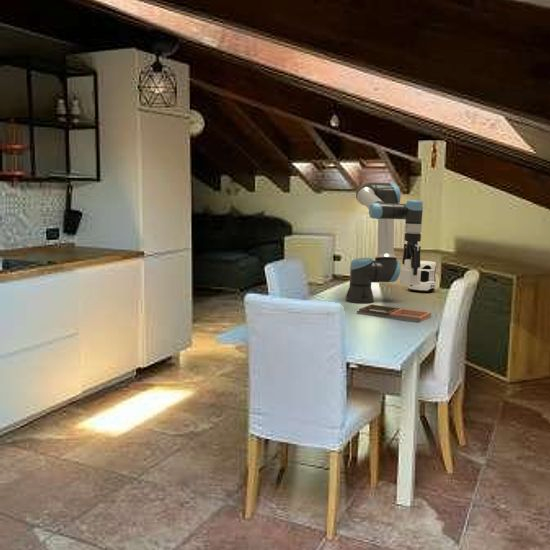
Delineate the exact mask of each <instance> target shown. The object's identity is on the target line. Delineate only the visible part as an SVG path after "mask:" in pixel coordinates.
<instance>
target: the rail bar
mask: <svg viewBox="0 0 550 550" xmlns="http://www.w3.org/2000/svg"><path fill="white" fill-rule="evenodd" d="M356 314H357V315H363V316H371V317H377V318H385V319H389V320H390V319H391V320H398V321H405V322H409V323H410V322H412V323H421V322H420V319H413V318H407V317H400V316H393V315H386V314H379V313H372V312H365V311H359V310H357V311H356Z"/></svg>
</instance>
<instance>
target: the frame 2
mask: <svg viewBox="0 0 550 550" xmlns="http://www.w3.org/2000/svg"><path fill="white" fill-rule="evenodd" d="M431 314H432V312H430V311H429V312H428V311H422V310H421V311H420V310H413V309H408V308H407V309H406V308H399V310H397V311H394V312H392V313H390V315H393V316H400V317H407V318H413V319H420V322H419V323H421V322H422V321H424V320H427V319H429V318H430V317H431V316H432V315H431Z"/></svg>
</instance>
